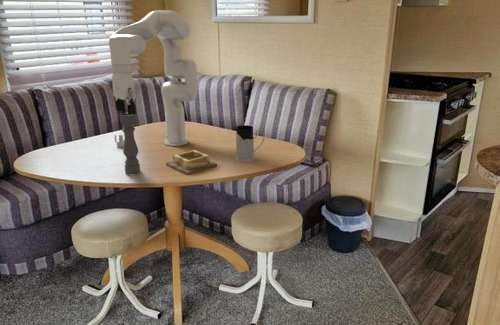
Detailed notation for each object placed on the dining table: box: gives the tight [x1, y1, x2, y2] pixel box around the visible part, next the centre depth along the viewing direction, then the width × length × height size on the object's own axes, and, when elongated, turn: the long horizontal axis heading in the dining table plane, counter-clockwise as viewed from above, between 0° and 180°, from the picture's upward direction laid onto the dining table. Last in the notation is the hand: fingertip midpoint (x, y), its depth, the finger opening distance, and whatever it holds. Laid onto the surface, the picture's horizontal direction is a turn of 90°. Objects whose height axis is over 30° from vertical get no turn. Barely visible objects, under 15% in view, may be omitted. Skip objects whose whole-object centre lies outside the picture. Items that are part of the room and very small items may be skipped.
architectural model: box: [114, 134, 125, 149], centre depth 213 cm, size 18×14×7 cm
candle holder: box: [119, 112, 141, 175], centre depth 172 cm, size 6×6×25 cm
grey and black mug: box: [235, 124, 266, 163], centre depth 190 cm, size 9×14×15 cm, turn 111°
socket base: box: [165, 149, 218, 176], centre depth 182 cm, size 16×16×5 cm
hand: (126, 112), depth 167 cm, fingers open, 9 cm apart
